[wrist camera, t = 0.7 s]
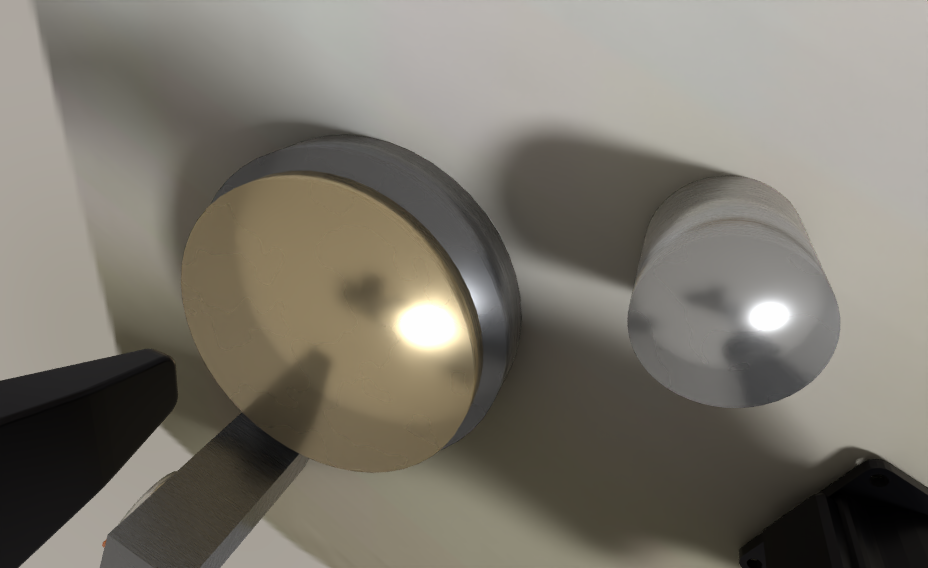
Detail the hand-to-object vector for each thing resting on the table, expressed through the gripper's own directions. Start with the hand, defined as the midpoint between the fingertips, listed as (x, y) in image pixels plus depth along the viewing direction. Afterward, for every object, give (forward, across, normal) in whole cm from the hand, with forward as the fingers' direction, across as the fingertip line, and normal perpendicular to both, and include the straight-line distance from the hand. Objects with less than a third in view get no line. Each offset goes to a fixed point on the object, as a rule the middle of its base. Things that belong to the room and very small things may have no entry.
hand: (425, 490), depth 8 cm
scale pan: (+10, +7, +5) cm, 13 cm away
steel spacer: (+12, -4, 0) cm, 13 cm away
